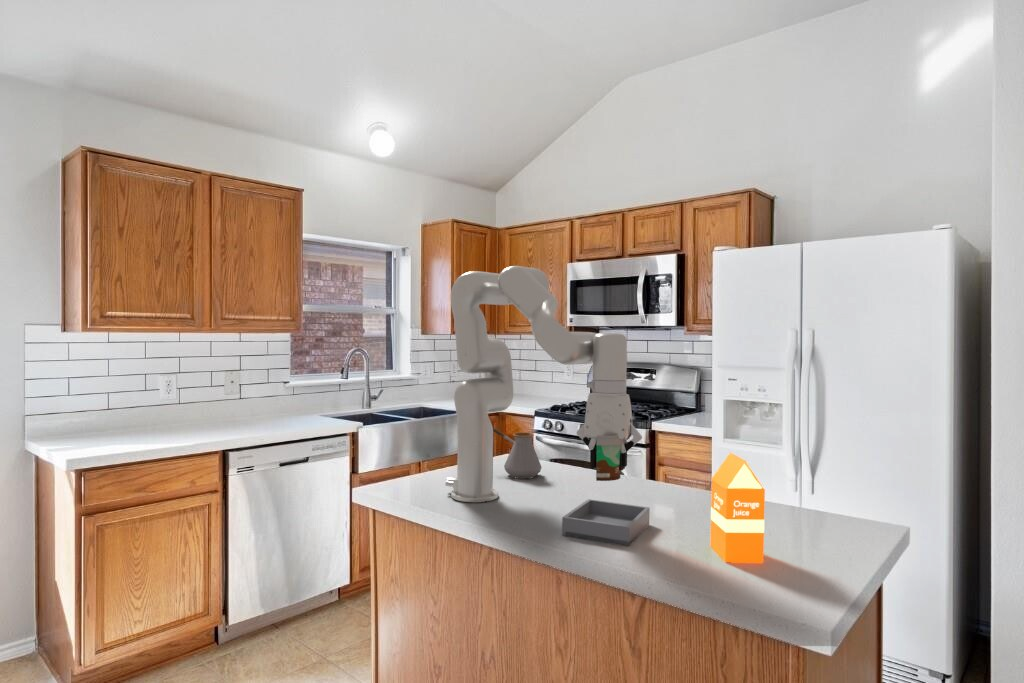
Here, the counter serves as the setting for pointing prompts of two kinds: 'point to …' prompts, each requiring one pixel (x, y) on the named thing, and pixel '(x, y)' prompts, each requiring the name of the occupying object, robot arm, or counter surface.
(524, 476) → the coffee pot
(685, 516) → the counter surface
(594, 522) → the grey bin
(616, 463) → the food container
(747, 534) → the orange juice
